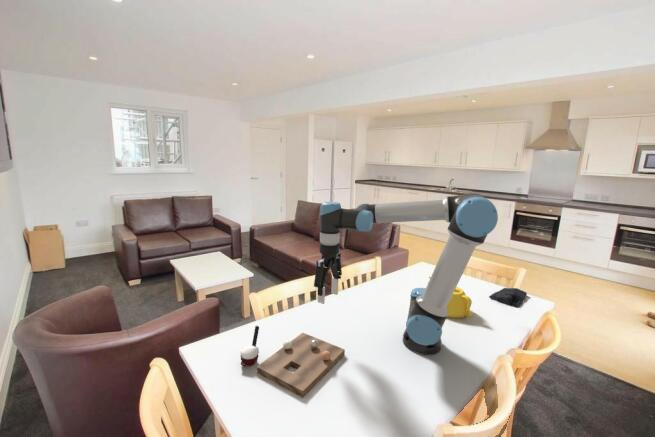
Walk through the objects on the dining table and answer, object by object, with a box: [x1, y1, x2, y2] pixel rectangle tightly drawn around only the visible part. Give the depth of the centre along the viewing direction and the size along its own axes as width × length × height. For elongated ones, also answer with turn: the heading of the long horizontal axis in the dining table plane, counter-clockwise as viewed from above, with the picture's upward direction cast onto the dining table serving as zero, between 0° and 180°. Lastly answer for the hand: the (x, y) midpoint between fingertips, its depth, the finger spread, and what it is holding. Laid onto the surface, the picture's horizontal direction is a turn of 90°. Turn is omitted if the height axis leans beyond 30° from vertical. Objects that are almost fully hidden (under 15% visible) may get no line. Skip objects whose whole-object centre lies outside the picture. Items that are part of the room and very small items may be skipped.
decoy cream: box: [282, 339, 292, 349], centre depth 118 cm, size 3×3×3 cm
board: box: [256, 332, 346, 399], centre depth 113 cm, size 20×26×2 cm
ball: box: [310, 340, 318, 349], centre depth 118 cm, size 3×3×3 cm
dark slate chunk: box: [488, 287, 528, 308], centre depth 172 cm, size 15×22×5 cm
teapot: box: [429, 276, 473, 319], centre depth 156 cm, size 25×18×14 cm
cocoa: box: [239, 325, 260, 367], centre depth 112 cm, size 10×6×12 cm, turn 133°
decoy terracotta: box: [322, 351, 331, 360], centre depth 112 cm, size 3×3×3 cm
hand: (328, 298), depth 123 cm, fingers open, 9 cm apart
